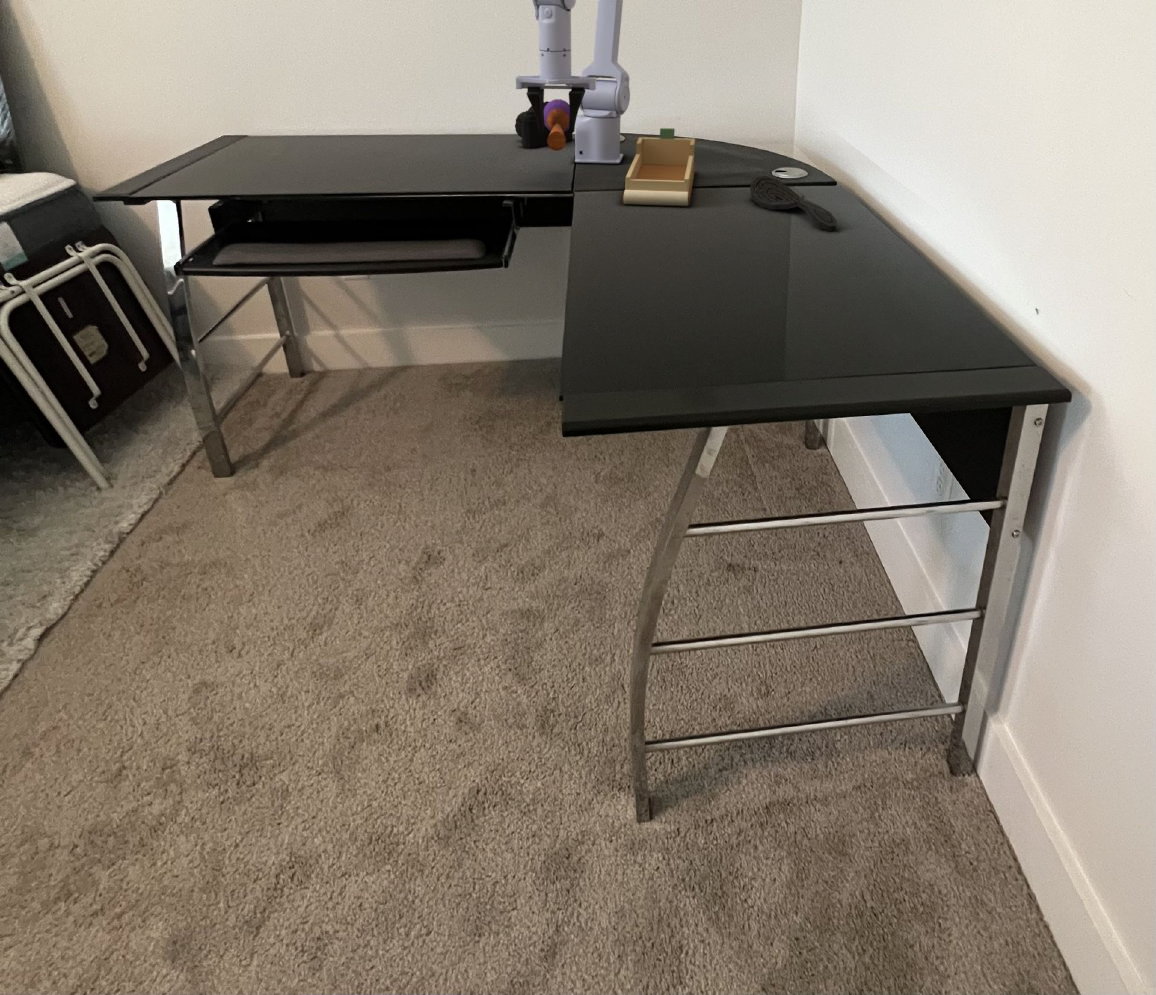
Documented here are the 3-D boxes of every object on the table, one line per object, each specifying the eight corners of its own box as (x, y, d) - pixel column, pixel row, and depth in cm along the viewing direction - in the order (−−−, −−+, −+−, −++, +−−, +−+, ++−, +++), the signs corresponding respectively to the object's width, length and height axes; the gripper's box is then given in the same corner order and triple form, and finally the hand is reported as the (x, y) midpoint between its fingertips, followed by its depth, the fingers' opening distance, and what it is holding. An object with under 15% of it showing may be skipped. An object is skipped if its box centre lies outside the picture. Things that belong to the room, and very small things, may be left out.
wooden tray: (688, 207, 148) (692, 157, 143) (621, 205, 149) (623, 156, 145) (694, 172, 170) (697, 128, 165) (636, 170, 171) (637, 127, 167)
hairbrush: (812, 215, 133) (742, 172, 152) (808, 238, 135) (739, 193, 154) (858, 211, 135) (783, 169, 154) (853, 234, 137) (779, 189, 156)
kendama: (536, 127, 148) (540, 99, 164) (544, 161, 152) (547, 131, 167) (569, 119, 147) (570, 92, 163) (576, 154, 151) (576, 124, 167)
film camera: (550, 135, 203) (550, 94, 198) (577, 140, 197) (577, 98, 192) (501, 143, 195) (499, 101, 190) (528, 149, 189) (526, 106, 184)
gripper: (510, 51, 148) (514, 134, 155) (592, 52, 146) (592, 136, 153) (518, 47, 153) (521, 127, 161) (597, 48, 152) (597, 129, 159)
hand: (556, 131), depth 158 cm, fingers closed on kendama, 5 cm apart
